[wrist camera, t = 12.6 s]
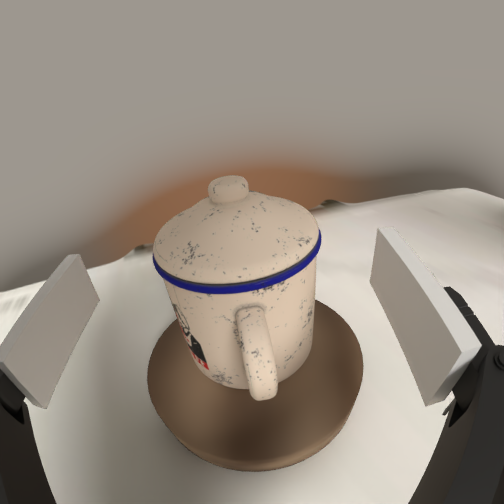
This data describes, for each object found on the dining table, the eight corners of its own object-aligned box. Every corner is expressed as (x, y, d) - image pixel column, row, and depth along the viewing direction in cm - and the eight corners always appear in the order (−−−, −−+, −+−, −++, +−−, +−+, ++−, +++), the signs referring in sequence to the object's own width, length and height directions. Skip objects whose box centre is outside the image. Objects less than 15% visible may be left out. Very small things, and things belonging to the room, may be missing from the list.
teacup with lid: (189, 309, 23) (153, 173, 17) (296, 291, 24) (291, 151, 18) (191, 444, 13) (89, 287, 7) (347, 415, 14) (397, 236, 8)
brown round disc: (333, 306, 26) (335, 281, 25) (375, 454, 14) (388, 438, 12) (177, 318, 27) (169, 294, 25) (146, 465, 14) (127, 450, 13)
